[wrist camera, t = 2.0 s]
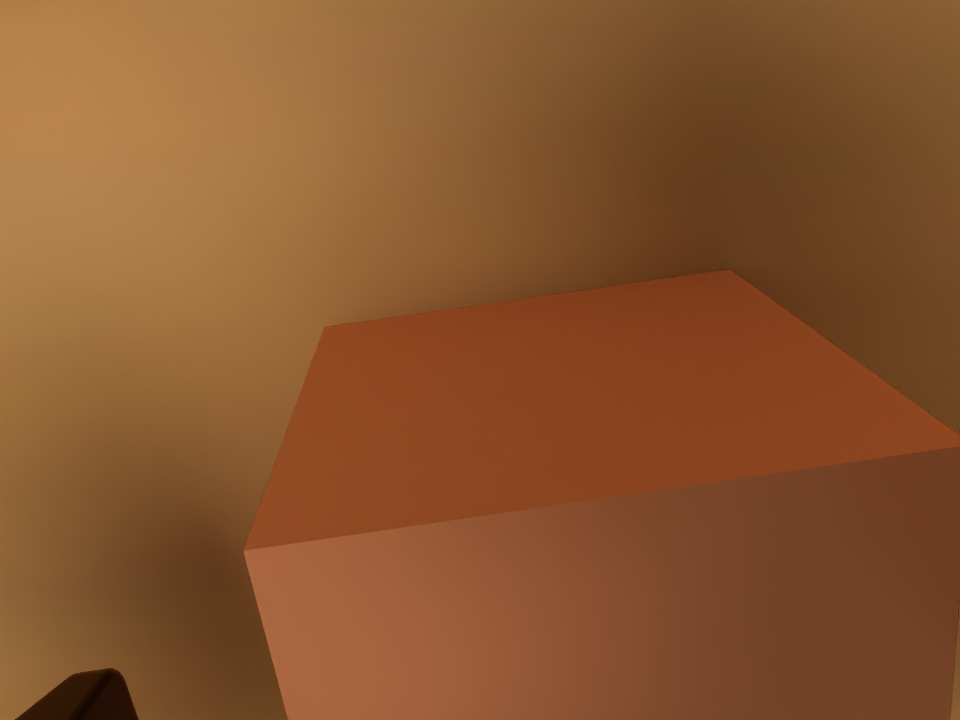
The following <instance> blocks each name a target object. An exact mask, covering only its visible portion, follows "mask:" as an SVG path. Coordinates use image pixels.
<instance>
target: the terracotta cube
mask: <svg viewBox="0 0 960 720" xmlns="http://www.w3.org/2000/svg"><path fill="white" fill-rule="evenodd" d="M243 553H244V556H245V560H246V564H247V568H248V571H249V575H250V579H251V583H252V586H253V590H254V594H255V598H256V601H257V605H258V609H259V613H260V616H261V620H262V624H263V628H264V631H265V635H266V639H267V643H268V646H269V650H270V654H271V658H272V661H273V665H274V669H275V673H276V676H277V680H278V684H279V688H280V691H281V695H282V699H283V703H284V706H285V710H286V714H287V718H288V720H950V716H951V703H952V691H953V678H954V666H955V654H956V641H957V629H958V616H959V604H960V435H959V434H957V433H956V432H954V431H953V430H952V429H950V428H949V427H947V426H946V425H945V424H943V423H942V422H941V421H939V420H938V419H936V418H935V417H934V416H932V415H931V414H929V413H928V412H927V411H925V410H924V409H923V408H921V407H920V406H918V405H917V404H916V403H914V402H913V401H912V400H910V399H909V398H907V397H906V396H905V395H903V394H902V393H900V392H899V391H898V390H896V389H895V388H894V387H892V386H891V385H889V384H888V383H887V382H885V381H884V380H882V379H881V378H880V377H878V376H877V375H876V374H874V373H873V372H871V371H870V370H869V369H867V368H866V367H865V366H863V365H862V364H860V363H859V362H858V361H856V360H855V359H853V358H852V357H851V356H849V355H848V354H847V353H845V352H844V351H842V350H841V349H840V348H838V347H837V346H835V345H834V344H833V343H831V342H830V341H829V340H827V339H826V338H824V337H823V336H822V335H820V334H819V333H817V332H816V331H815V330H813V329H812V328H811V327H809V326H808V325H806V324H805V323H804V322H802V321H801V320H800V319H798V318H797V317H795V316H794V315H793V314H791V313H790V312H788V311H787V310H786V309H784V308H783V307H782V306H780V305H779V304H777V303H776V302H775V301H773V300H772V299H770V298H769V297H768V296H766V295H765V294H764V293H762V292H761V291H759V290H758V289H757V288H755V287H754V286H753V285H751V284H750V283H748V282H747V281H746V280H744V279H743V278H741V277H740V276H739V275H737V274H736V273H735V272H733V271H732V270H730V269H727V270H720V271H713V272H706V273H699V274H692V275H685V276H678V277H671V278H664V279H657V280H650V281H643V282H636V283H629V284H622V285H615V286H608V287H601V288H594V289H587V290H580V291H574V292H567V293H560V294H553V295H546V296H539V297H532V298H525V299H518V300H511V301H504V302H497V303H490V304H483V305H476V306H469V307H462V308H455V309H448V310H441V311H434V312H427V313H420V314H413V315H406V316H399V317H392V318H385V319H378V320H371V321H364V322H357V323H350V324H343V325H336V326H329V327H324V330H323V332H322V335H321V338H320V341H319V343H318V346H317V349H316V352H315V354H314V357H313V360H312V363H311V365H310V368H309V371H308V374H307V376H306V379H305V382H304V385H303V387H302V390H301V393H300V396H299V398H298V401H297V404H296V407H295V409H294V412H293V415H292V418H291V420H290V423H289V426H288V429H287V431H286V434H285V437H284V440H283V442H282V445H281V448H280V451H279V453H278V456H277V459H276V462H275V464H274V467H273V470H272V473H271V475H270V478H269V481H268V484H267V486H266V489H265V492H264V495H263V497H262V500H261V503H260V506H259V508H258V511H257V514H256V517H255V519H254V522H253V525H252V528H251V530H250V533H249V536H248V539H247V541H246V544H245V547H244V550H243Z"/></svg>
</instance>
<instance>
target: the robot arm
mask: <svg viewBox="0 0 960 720" xmlns="http://www.w3.org/2000/svg"><path fill="white" fill-rule="evenodd" d="M15 720H138V717H137V714H136V711H135V708H134V705H133V702H132V699H131V697H130V694H129V691H128V688H127V685H126V682H125V680H124V678H123V676H122V675H121V673H120V672H119V671H117V670H115V669H113V668H108V669H101V670H95V671H88V672H81V673H76V674H74V675H71V676H70V677H68V678H67V679H66V680H64V681H63V682H62V683H61V684H59V685H58V686H57V687H56V688H54V689H53V690H52V691H51V692H49V693H48V694H47V695H45V696H44V697H43V698H42V699H40V700H39V701H38V702H37V703H35V704H34V705H33V706H32V707H30V708H29V709H28V710H26V711H25V712H24V713H23V714H21V715H20V716H19V717H18V718H16V719H15Z"/></svg>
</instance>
